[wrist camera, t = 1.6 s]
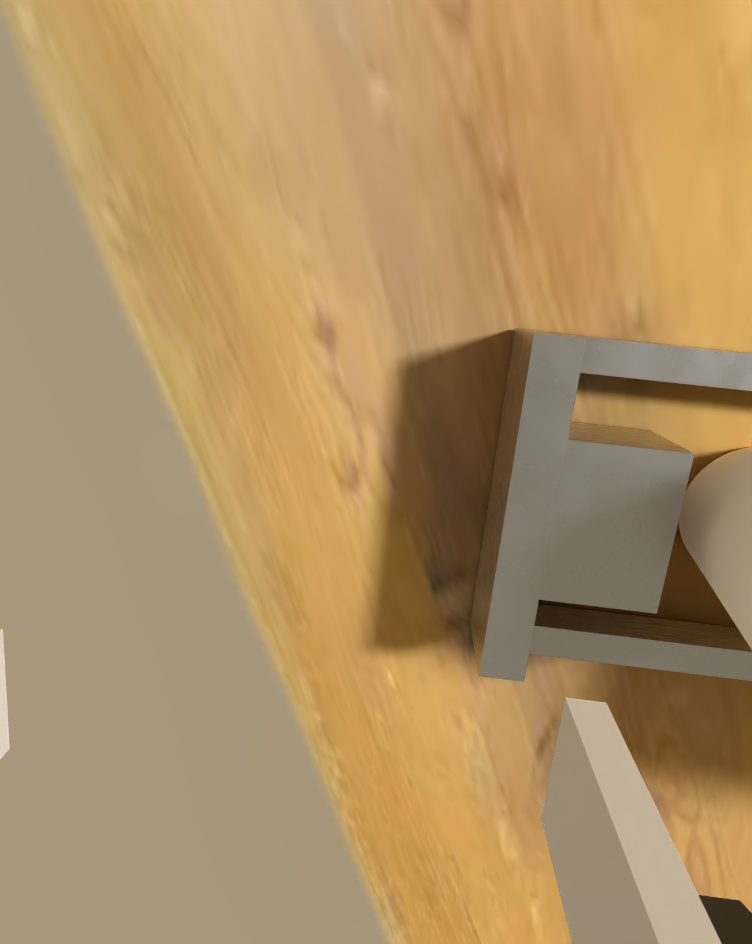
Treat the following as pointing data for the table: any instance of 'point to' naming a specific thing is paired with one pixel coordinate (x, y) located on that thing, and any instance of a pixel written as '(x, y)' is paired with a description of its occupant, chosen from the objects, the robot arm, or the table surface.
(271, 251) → the table surface
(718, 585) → the cup
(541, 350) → the frame
